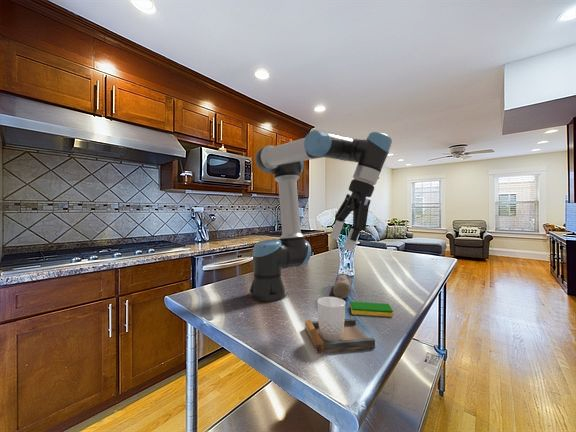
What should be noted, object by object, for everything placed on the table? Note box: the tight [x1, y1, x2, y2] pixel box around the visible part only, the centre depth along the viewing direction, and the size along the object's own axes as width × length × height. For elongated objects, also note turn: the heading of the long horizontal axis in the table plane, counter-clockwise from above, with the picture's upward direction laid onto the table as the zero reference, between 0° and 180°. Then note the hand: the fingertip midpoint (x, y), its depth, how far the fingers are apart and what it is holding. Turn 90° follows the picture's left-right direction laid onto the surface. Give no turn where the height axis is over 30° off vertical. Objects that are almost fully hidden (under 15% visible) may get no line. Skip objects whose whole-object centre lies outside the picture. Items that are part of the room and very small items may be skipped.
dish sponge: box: [349, 301, 394, 318], centre depth 92 cm, size 7×14×2 cm, turn 81°
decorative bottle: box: [332, 272, 353, 299], centre depth 118 cm, size 26×8×7 cm, turn 164°
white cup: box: [317, 296, 346, 341], centre depth 73 cm, size 8×8×10 cm
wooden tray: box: [304, 317, 376, 354], centre depth 74 cm, size 16×13×3 cm
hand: (339, 244), depth 84 cm, fingers open, 13 cm apart
